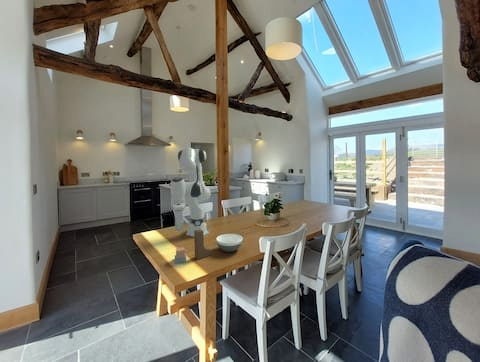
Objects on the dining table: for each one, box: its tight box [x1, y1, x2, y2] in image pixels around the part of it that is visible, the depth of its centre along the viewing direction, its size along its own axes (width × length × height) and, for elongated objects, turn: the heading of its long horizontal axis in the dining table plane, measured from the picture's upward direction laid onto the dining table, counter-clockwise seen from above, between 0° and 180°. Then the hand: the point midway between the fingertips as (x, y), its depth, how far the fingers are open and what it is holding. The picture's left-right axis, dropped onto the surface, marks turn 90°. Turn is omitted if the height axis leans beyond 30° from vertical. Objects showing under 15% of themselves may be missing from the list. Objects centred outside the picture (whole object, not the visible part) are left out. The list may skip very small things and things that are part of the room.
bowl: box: [215, 233, 244, 253], centre depth 160 cm, size 19×19×8 cm
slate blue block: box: [174, 253, 187, 265], centre depth 143 cm, size 7×7×2 cm
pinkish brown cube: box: [175, 247, 186, 259], centre depth 143 cm, size 5×5×5 cm
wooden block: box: [193, 229, 211, 260], centre depth 148 cm, size 9×4×18 cm, turn 130°
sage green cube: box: [174, 220, 185, 232], centre depth 141 cm, size 5×5×5 cm
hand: (179, 226), depth 141 cm, fingers closed on sage green cube, 5 cm apart
